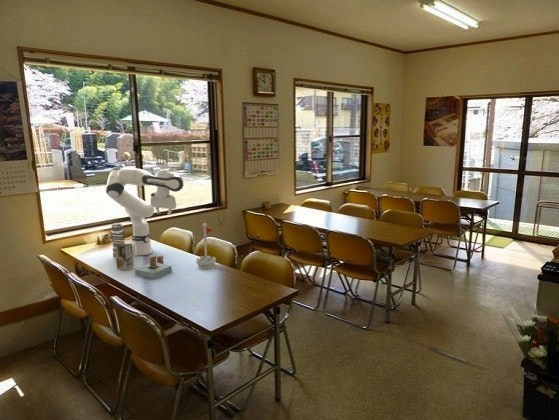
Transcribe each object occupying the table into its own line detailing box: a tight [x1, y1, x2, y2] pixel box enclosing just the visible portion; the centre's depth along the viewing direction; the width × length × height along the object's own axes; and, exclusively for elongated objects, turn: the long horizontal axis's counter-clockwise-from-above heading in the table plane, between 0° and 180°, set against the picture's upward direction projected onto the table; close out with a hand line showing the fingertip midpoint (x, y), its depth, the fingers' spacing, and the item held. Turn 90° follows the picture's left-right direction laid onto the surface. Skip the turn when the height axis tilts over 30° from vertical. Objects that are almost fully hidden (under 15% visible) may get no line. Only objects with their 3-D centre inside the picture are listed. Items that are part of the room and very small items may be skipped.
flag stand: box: [195, 222, 217, 270], centre depth 270 cm, size 13×13×30 cm
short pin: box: [156, 255, 164, 264], centre depth 273 cm, size 4×4×6 cm
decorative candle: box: [110, 222, 126, 260], centre depth 290 cm, size 9×9×25 cm
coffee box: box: [115, 242, 134, 271], centre depth 268 cm, size 9×6×16 cm
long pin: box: [149, 255, 157, 269], centre depth 258 cm, size 4×4×11 cm
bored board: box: [134, 262, 173, 280], centre depth 259 cm, size 16×16×4 cm
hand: (164, 214), depth 275 cm, fingers open, 8 cm apart
